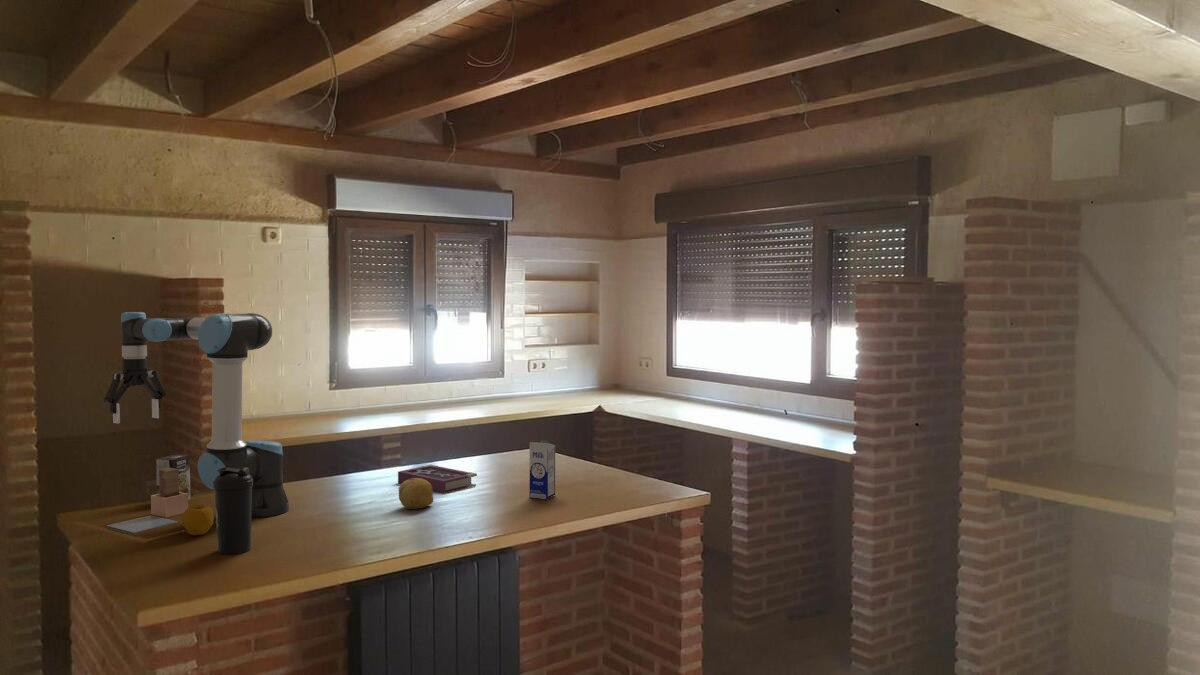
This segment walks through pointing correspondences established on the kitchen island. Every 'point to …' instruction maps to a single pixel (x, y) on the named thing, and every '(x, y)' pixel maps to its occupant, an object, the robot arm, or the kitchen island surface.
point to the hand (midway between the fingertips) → (136, 420)
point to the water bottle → (233, 510)
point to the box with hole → (169, 505)
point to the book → (439, 477)
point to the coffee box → (178, 463)
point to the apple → (198, 519)
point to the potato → (415, 493)
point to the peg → (169, 482)
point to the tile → (141, 524)
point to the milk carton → (542, 469)
